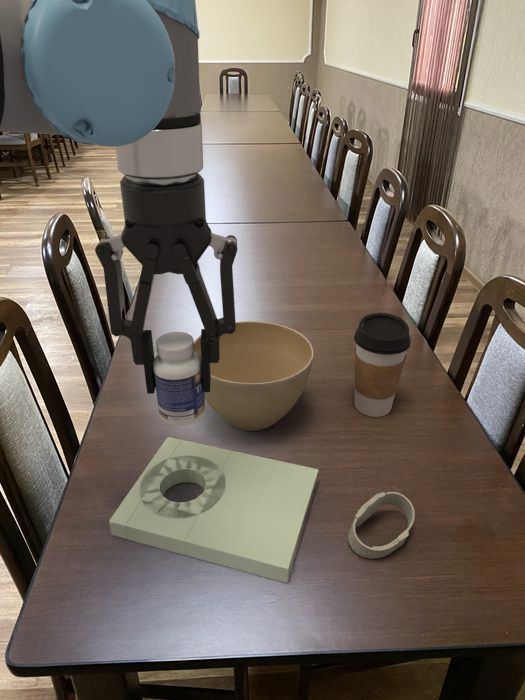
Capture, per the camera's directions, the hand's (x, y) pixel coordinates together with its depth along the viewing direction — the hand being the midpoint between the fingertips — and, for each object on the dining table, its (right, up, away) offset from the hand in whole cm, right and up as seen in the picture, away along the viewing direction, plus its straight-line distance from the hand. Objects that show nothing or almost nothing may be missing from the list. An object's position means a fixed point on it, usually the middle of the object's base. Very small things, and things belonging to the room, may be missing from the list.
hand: (179, 385), depth 60 cm
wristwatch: (+24, -19, +5) cm, 31 cm away
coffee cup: (+27, -5, +27) cm, 39 cm away
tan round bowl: (+8, -6, +25) cm, 27 cm away
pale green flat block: (+4, -16, +8) cm, 19 cm away
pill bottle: (0, -3, +2) cm, 4 cm away
